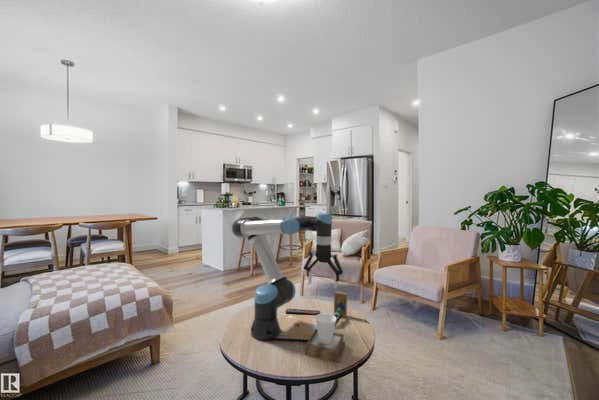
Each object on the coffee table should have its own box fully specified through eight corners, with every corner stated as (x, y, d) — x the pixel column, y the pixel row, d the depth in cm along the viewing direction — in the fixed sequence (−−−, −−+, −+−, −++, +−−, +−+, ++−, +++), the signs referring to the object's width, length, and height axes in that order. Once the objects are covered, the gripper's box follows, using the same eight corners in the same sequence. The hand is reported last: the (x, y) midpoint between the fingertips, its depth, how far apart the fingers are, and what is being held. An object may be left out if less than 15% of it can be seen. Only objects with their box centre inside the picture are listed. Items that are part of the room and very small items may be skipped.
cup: (335, 348, 116) (335, 324, 116) (313, 345, 118) (313, 321, 118) (336, 336, 126) (337, 314, 126) (316, 334, 128) (316, 312, 128)
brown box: (304, 354, 119) (304, 343, 118) (313, 338, 132) (313, 328, 132) (339, 363, 113) (339, 351, 113) (345, 345, 126) (345, 334, 126)
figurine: (334, 313, 160) (347, 315, 158) (329, 327, 143) (344, 329, 141) (334, 290, 160) (347, 292, 158) (329, 302, 143) (344, 303, 141)
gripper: (298, 242, 133) (297, 284, 134) (346, 247, 124) (345, 292, 125) (303, 240, 140) (302, 279, 141) (349, 245, 131) (348, 286, 132)
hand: (322, 285), depth 133 cm, fingers open, 13 cm apart
